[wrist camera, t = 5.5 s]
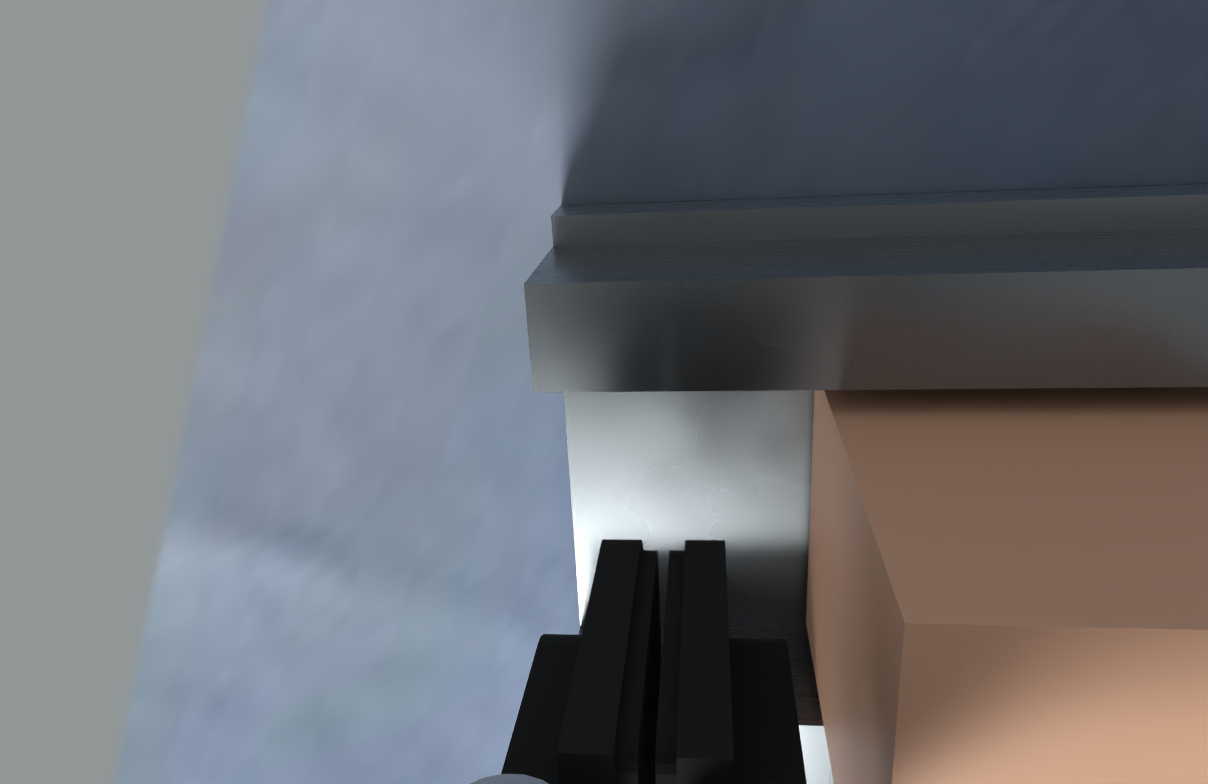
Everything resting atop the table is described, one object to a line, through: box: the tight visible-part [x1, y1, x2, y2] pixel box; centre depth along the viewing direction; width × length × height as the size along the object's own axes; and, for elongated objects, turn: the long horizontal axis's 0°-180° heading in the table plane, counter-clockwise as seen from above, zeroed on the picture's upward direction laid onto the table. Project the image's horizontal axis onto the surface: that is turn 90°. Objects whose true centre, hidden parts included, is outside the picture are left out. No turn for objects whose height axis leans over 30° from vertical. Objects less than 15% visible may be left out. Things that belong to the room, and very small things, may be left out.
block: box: [806, 387, 1208, 784], centre depth 12 cm, size 6×5×7 cm
